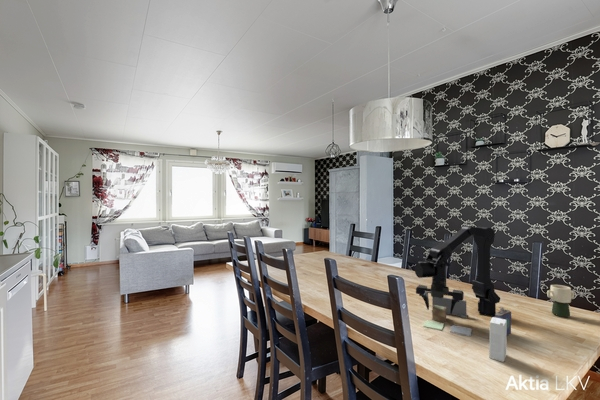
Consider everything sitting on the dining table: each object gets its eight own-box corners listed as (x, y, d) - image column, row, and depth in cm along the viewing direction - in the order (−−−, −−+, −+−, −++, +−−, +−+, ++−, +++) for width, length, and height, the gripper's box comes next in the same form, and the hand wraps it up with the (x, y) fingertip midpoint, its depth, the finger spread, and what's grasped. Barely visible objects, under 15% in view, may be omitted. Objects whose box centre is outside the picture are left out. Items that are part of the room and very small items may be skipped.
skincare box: (491, 351, 103) (491, 316, 103) (507, 355, 100) (507, 319, 100) (488, 358, 99) (488, 321, 99) (505, 363, 96) (504, 325, 96)
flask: (500, 339, 112) (500, 310, 112) (492, 336, 114) (491, 308, 114) (512, 334, 117) (512, 306, 117) (504, 331, 119) (504, 304, 119)
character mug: (568, 313, 137) (567, 284, 137) (580, 319, 130) (580, 289, 130) (542, 312, 139) (541, 284, 139) (553, 318, 132) (552, 288, 132)
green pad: (444, 324, 126) (444, 323, 126) (442, 330, 120) (442, 329, 120) (426, 320, 130) (426, 320, 130) (423, 326, 124) (423, 325, 124)
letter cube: (446, 318, 133) (446, 306, 133) (444, 322, 128) (444, 310, 128) (434, 316, 135) (434, 304, 135) (432, 319, 131) (432, 307, 131)
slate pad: (471, 329, 121) (471, 328, 121) (470, 336, 115) (470, 335, 115) (452, 325, 124) (452, 324, 124) (450, 332, 118) (450, 331, 118)
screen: (466, 314, 136) (466, 299, 136) (466, 318, 132) (466, 302, 132) (433, 309, 144) (433, 294, 144) (431, 312, 139) (431, 297, 140)
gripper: (413, 277, 130) (413, 313, 130) (461, 283, 120) (462, 322, 120) (418, 272, 140) (418, 305, 139) (463, 277, 130) (464, 313, 130)
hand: (439, 311), depth 132 cm, fingers open, 9 cm apart
